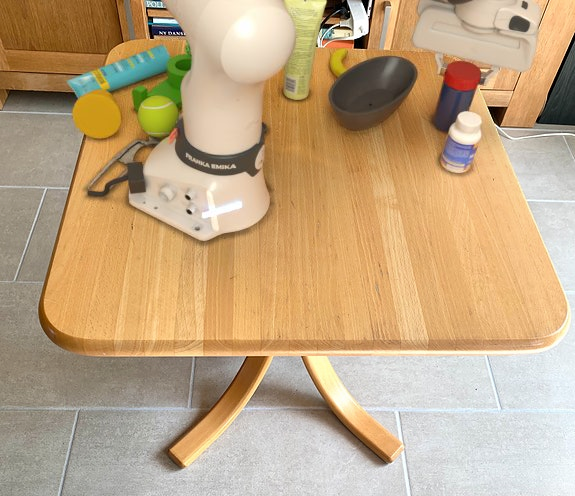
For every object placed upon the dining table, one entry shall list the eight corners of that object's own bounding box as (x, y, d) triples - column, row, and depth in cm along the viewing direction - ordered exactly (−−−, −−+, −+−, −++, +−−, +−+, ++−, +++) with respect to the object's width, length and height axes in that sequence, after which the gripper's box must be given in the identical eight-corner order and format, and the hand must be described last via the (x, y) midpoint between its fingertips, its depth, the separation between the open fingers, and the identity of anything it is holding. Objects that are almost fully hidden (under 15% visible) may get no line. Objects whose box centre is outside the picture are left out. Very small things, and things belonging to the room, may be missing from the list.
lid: (440, 85, 107) (443, 75, 105) (446, 67, 111) (449, 57, 109) (475, 94, 106) (479, 84, 104) (480, 75, 110) (484, 65, 108)
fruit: (330, 82, 122) (355, 84, 122) (331, 73, 120) (357, 74, 120) (327, 54, 128) (351, 55, 129) (329, 45, 127) (353, 46, 127)
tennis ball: (127, 99, 101) (147, 90, 107) (132, 140, 105) (151, 129, 111) (166, 102, 100) (184, 92, 106) (170, 143, 103) (187, 132, 109)
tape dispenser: (184, 71, 121) (182, 50, 118) (213, 83, 119) (212, 62, 116) (133, 108, 113) (129, 87, 109) (163, 123, 110) (161, 101, 107)
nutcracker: (83, 189, 99) (110, 201, 98) (83, 186, 98) (109, 197, 97) (140, 133, 109) (164, 143, 108) (139, 129, 108) (164, 139, 107)
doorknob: (120, 96, 103) (70, 92, 101) (121, 140, 107) (73, 137, 106) (124, 80, 109) (77, 77, 108) (125, 122, 113) (79, 120, 112)
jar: (429, 127, 114) (443, 77, 106) (435, 109, 118) (449, 60, 110) (461, 136, 113) (478, 86, 105) (466, 117, 117) (483, 68, 108)
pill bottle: (470, 176, 106) (487, 131, 98) (438, 171, 106) (453, 125, 99) (470, 156, 109) (486, 111, 102) (440, 151, 110) (454, 106, 102)
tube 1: (172, 52, 115) (74, 89, 110) (178, 75, 119) (83, 112, 114) (157, 37, 120) (62, 72, 115) (163, 60, 124) (72, 94, 118)
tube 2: (300, 81, 121) (308, -15, 107) (316, 94, 119) (327, -2, 104) (277, 90, 119) (282, -7, 104) (293, 104, 116) (300, 6, 102)
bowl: (426, 99, 119) (433, 71, 115) (361, 154, 108) (367, 125, 103) (375, 74, 124) (380, 46, 119) (307, 124, 112) (310, 95, 108)
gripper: (417, -2, 97) (400, 74, 108) (548, 27, 94) (517, 102, 104) (425, -19, 101) (408, 55, 112) (551, 8, 98) (521, 83, 108)
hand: (461, 78), depth 108 cm, fingers closed on lid, 6 cm apart
